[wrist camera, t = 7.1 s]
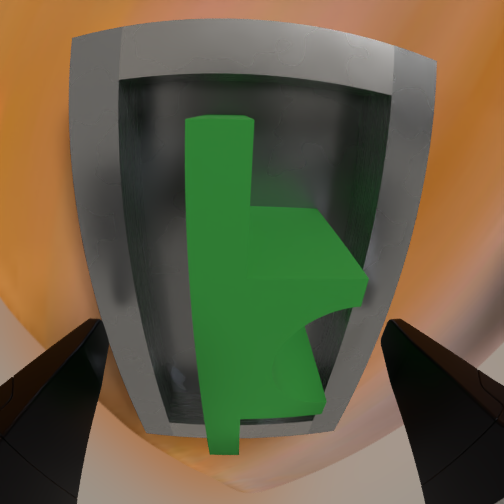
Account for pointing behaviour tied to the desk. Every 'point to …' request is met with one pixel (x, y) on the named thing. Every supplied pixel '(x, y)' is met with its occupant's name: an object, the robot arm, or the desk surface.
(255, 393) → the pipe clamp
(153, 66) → the gray rectangular tray
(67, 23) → the desk surface
